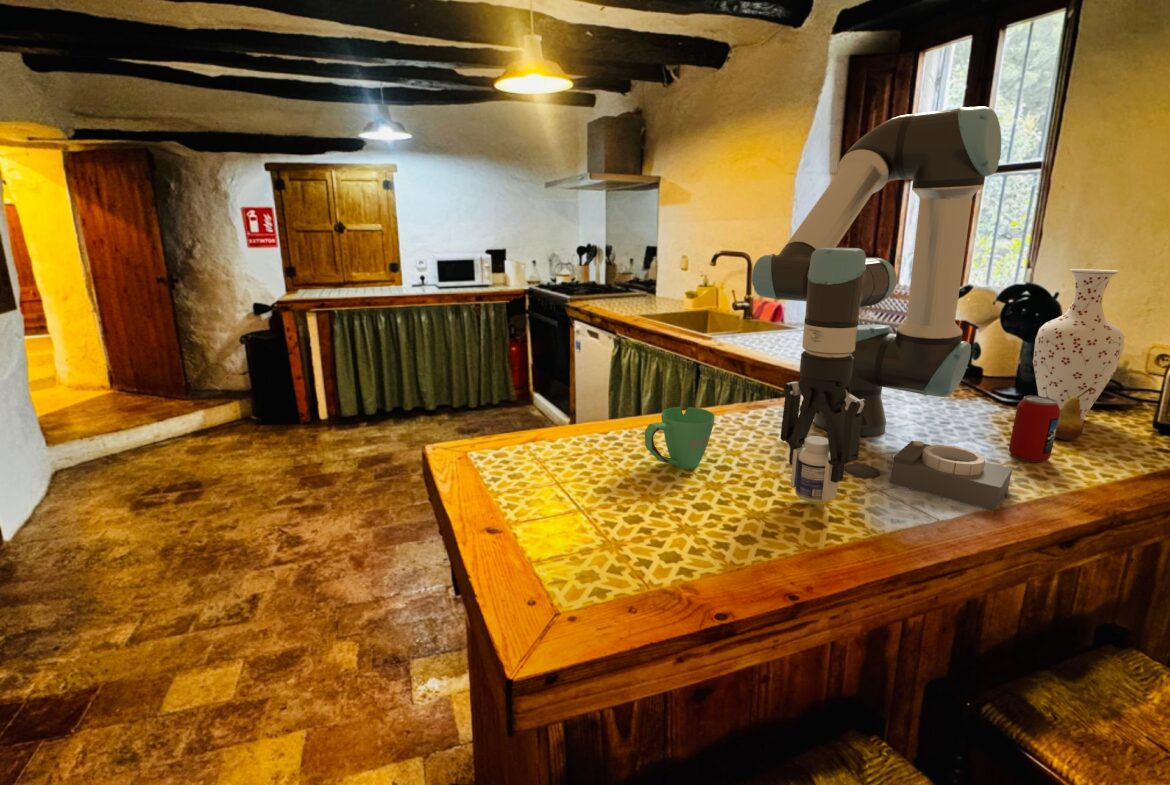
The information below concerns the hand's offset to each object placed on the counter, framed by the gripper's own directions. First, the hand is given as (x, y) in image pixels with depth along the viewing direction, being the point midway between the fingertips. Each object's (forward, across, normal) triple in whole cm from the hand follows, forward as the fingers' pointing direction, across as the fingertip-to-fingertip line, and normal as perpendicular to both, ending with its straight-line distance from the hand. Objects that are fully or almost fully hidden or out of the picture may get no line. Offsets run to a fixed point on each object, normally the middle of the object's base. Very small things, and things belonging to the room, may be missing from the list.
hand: (812, 491), depth 98 cm
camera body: (+3, +8, +26) cm, 28 cm away
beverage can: (+3, +9, +54) cm, 55 cm away
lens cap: (+3, -4, +20) cm, 20 cm away
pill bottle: (+1, 0, 0) cm, 1 cm away
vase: (+4, +1, +92) cm, 92 cm away
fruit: (+4, +8, +74) cm, 74 cm away
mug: (+2, -24, -8) cm, 25 cm away
